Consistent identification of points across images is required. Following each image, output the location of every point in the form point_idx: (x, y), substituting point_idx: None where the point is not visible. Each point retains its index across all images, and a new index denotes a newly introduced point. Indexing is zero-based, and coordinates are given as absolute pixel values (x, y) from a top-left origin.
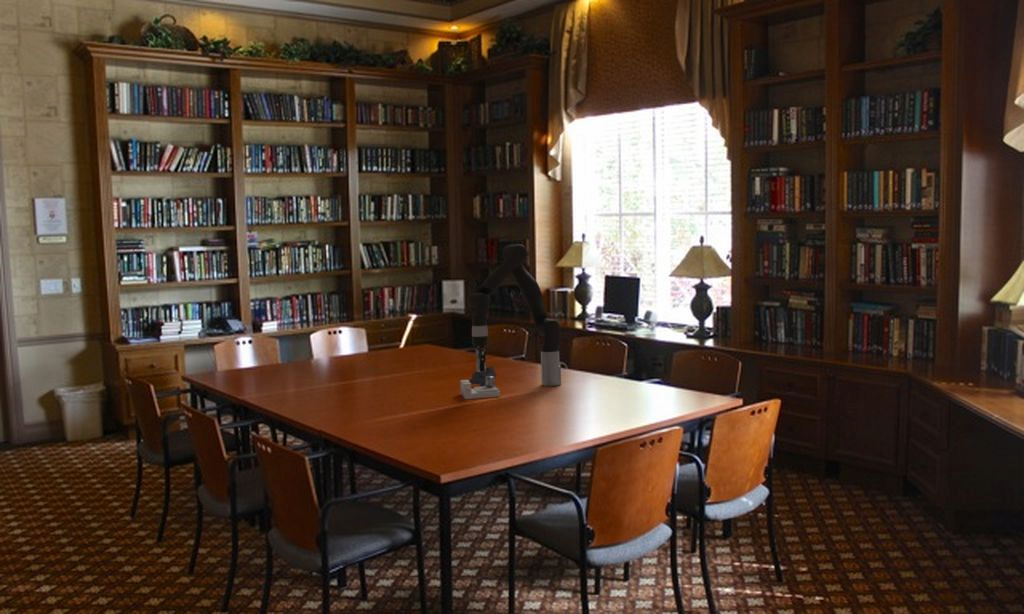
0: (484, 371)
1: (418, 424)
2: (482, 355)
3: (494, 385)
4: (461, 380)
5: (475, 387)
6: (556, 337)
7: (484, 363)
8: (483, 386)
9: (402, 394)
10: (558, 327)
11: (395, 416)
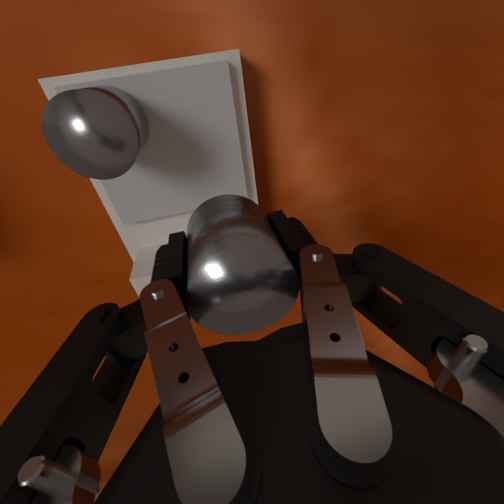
0: (258, 206)
1: (495, 301)
2: (440, 337)
3: (112, 87)
4: None
5: (136, 216)
6: None
7: (276, 243)
8: None
9: (143, 399)
10: None
11: (396, 349)
